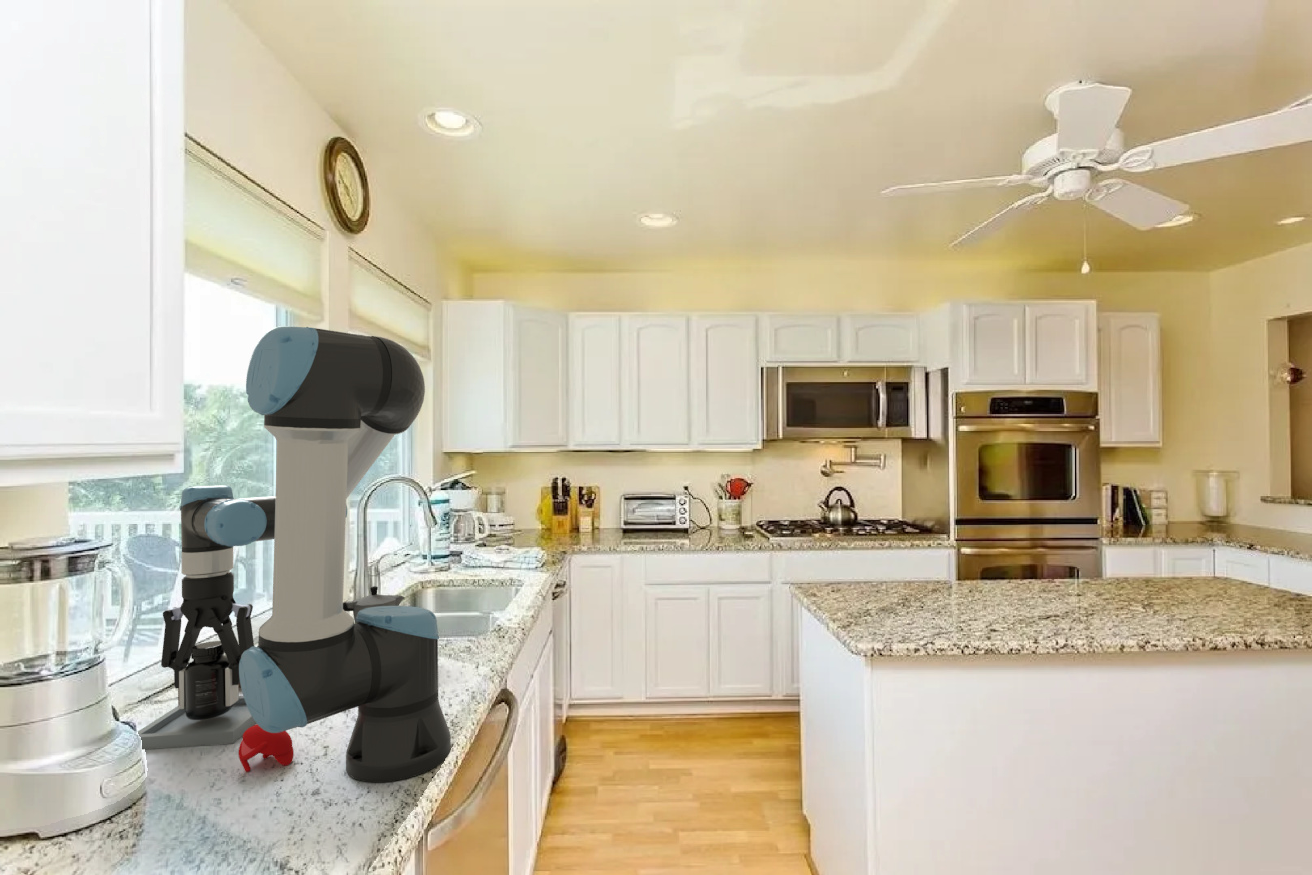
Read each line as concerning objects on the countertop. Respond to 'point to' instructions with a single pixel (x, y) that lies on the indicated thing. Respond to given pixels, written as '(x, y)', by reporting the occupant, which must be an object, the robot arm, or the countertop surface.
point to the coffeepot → (372, 602)
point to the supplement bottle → (206, 682)
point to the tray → (197, 728)
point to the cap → (265, 746)
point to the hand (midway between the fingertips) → (209, 704)
